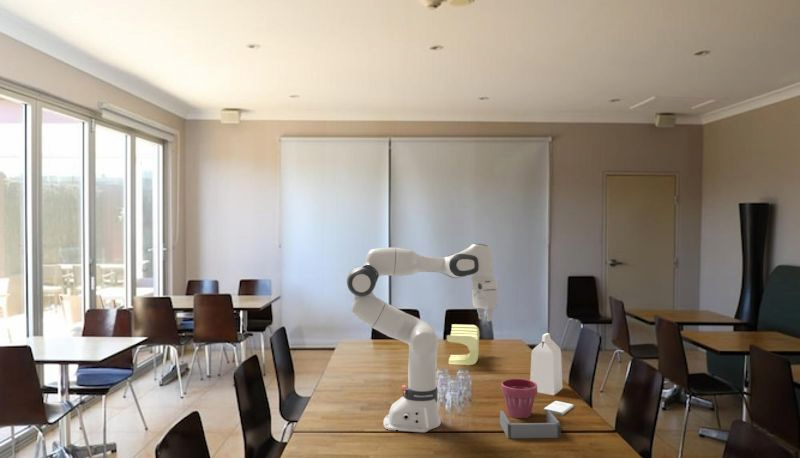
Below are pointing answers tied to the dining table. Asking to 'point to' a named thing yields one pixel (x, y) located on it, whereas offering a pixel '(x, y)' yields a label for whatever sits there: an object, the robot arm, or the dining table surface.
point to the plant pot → (519, 396)
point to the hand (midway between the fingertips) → (485, 320)
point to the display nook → (532, 428)
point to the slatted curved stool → (465, 343)
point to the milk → (546, 366)
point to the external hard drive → (559, 407)
